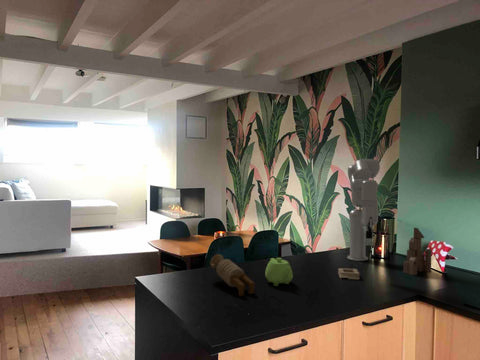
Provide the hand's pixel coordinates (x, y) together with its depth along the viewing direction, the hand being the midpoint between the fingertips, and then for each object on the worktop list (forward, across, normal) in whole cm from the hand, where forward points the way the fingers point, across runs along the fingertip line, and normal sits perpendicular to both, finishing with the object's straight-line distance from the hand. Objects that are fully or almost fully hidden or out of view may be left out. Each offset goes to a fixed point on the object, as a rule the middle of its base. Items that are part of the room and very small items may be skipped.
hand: (368, 237), depth 212 cm
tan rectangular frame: (+21, +1, -10) cm, 23 cm away
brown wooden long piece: (+22, +26, -71) cm, 78 cm away
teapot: (+22, +16, -47) cm, 55 cm away
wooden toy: (+22, -12, +30) cm, 39 cm away
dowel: (+4, 0, 0) cm, 4 cm away
